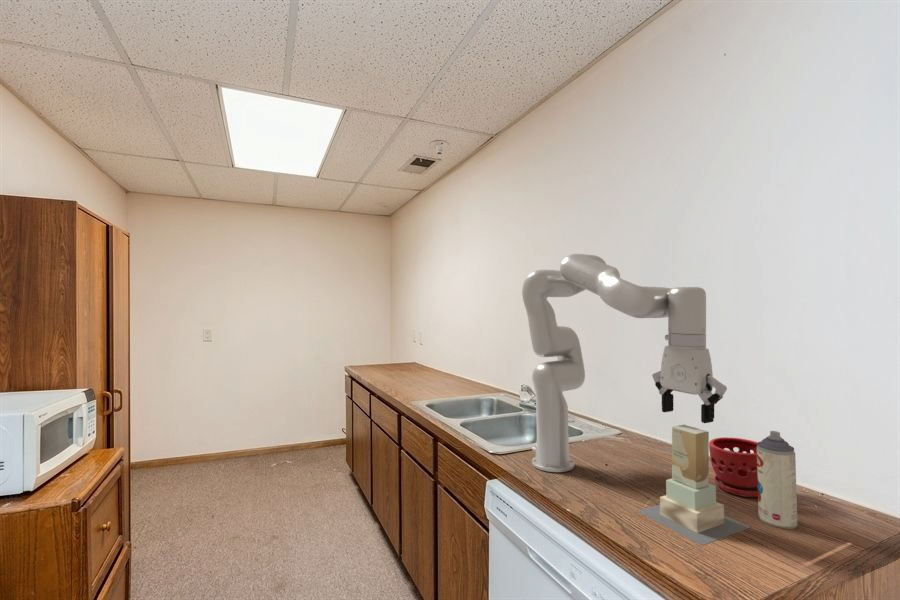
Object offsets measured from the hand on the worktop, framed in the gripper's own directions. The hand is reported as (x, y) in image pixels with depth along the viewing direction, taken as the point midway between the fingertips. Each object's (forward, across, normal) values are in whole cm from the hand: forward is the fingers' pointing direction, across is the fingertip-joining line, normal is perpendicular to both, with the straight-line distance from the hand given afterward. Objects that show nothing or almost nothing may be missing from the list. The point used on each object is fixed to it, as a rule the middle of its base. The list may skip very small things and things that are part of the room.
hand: (686, 416), depth 96 cm
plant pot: (+23, -4, +26) cm, 35 cm away
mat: (+23, +1, 0) cm, 23 cm away
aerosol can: (+23, +10, +16) cm, 30 cm away
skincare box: (+15, +1, 0) cm, 15 cm away
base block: (+23, +1, 0) cm, 23 cm away
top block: (+19, +1, 0) cm, 19 cm away
